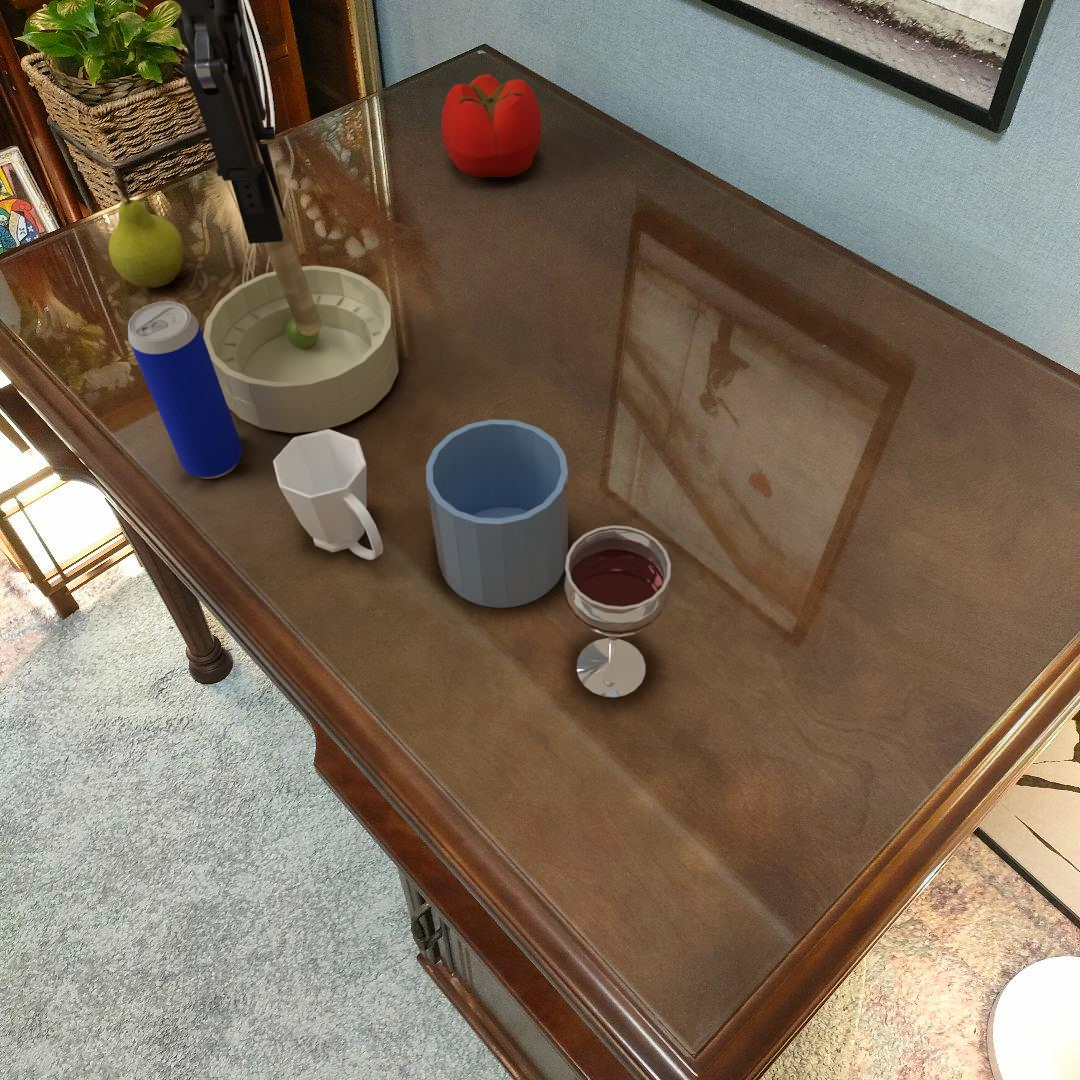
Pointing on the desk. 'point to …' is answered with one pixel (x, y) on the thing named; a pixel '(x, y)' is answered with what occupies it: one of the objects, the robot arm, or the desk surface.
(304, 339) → the olive
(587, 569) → the wineglass
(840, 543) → the desk surface
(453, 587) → the utensil pot
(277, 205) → the stick
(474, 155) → the tomato
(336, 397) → the bowl
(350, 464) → the cup
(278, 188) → the robot arm
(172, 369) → the beverage can
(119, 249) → the fruit
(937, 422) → the desk surface
